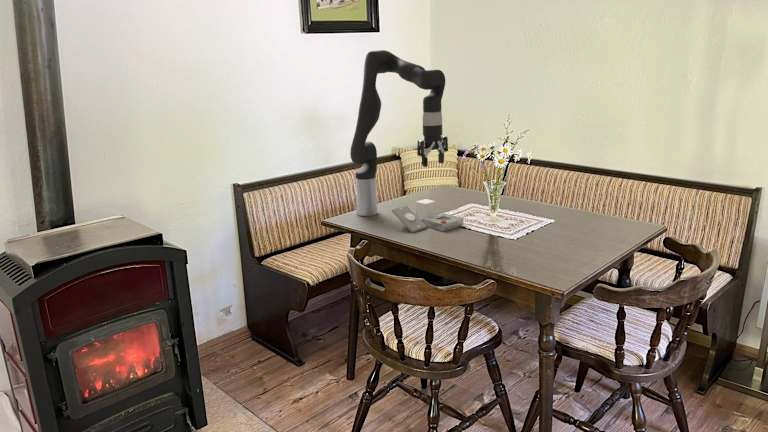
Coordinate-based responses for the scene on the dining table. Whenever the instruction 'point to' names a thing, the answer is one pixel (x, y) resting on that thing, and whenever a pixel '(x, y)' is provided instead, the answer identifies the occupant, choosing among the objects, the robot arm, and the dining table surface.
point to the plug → (425, 208)
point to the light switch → (409, 219)
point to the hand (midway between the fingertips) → (433, 164)
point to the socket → (443, 222)
